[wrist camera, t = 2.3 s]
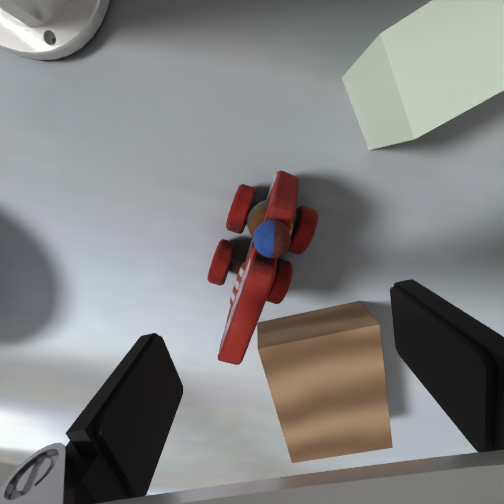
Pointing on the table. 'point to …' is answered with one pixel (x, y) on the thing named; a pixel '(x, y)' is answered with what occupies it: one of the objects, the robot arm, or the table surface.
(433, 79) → the sage cube
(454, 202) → the table surface
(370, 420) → the tan block
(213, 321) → the table surface
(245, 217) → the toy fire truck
